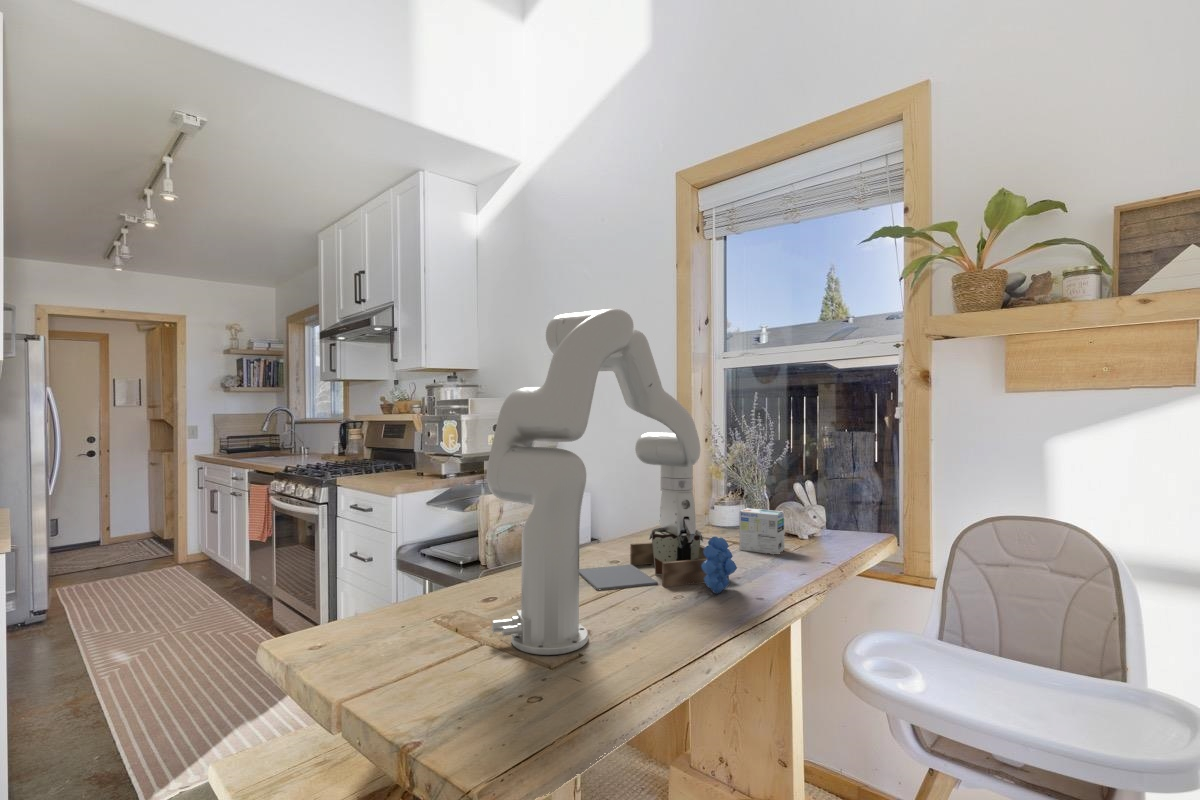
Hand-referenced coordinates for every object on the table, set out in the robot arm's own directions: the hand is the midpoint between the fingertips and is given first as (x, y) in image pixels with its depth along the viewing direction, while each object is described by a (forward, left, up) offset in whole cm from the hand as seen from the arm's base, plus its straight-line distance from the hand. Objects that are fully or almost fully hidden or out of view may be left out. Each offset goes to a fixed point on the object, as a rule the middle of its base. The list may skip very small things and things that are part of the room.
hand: (676, 559), depth 138 cm
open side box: (0, 0, -3) cm, 3 cm away
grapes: (+2, -17, -3) cm, 18 cm away
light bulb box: (+32, +12, -3) cm, 34 cm away
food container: (0, 0, -3) cm, 3 cm away
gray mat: (-15, 0, -3) cm, 15 cm away
